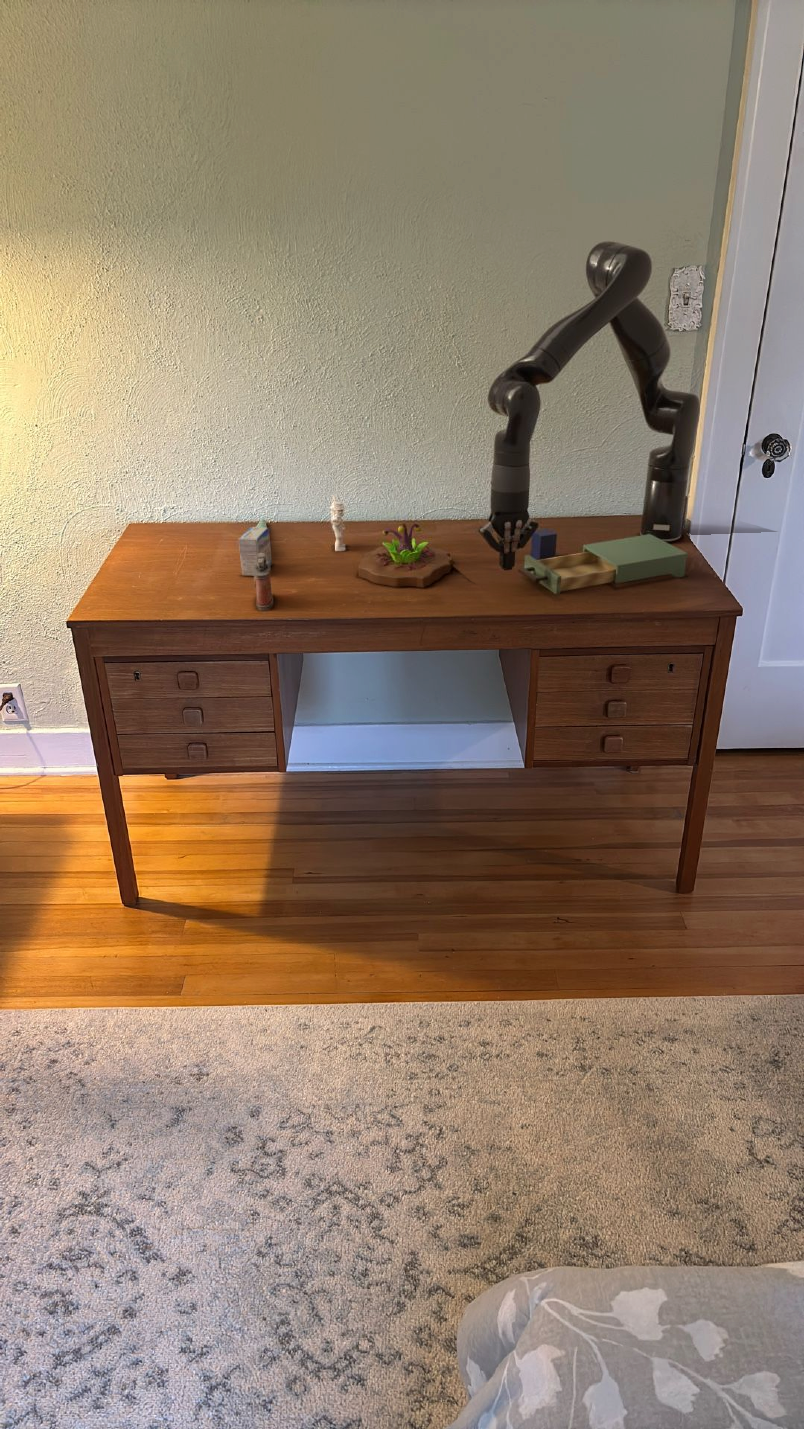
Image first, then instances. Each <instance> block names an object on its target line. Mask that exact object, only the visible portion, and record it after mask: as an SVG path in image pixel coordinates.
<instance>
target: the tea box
mask: <svg viewBox="0 0 804 1429" xmlns="http://www.w3.org/2000/svg"><path fill="white" fill-rule="evenodd" d="M557 540H558V533H557V532H555V531H553V530H552V529H550V528H542V529H536V531H535V532H534V534H533V535H532V536H531V544H530V556H531V557H533V558H534V559H536V560H541V559H547V558H553V557H557V555H556V554H557Z"/></svg>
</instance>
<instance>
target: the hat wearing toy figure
mask: <svg viewBox="0 0 804 1429" xmlns="http://www.w3.org/2000/svg"><path fill="white" fill-rule="evenodd" d="M336 500H337V499H336V497H335V496H334V495H332V499H331V505H330V506H329V510H330V515H331V517H330V519H331V521H330V524H331V530H332V531H333V532H334V535H335V543H334V551H335V552H346V549H347V548H346V543H344V537H343V535H344V534H343V533H344V531H343V530H345V529H346V524H344V516H345V511H346V509H347V506H345V505H344V503H342V502H340V501H336Z"/></svg>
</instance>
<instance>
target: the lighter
mask: <svg viewBox="0 0 804 1429" xmlns="http://www.w3.org/2000/svg"><path fill="white" fill-rule="evenodd" d="M253 571H254V576H253V579H254V580H253V582H254V588H255V592H256V598H255V600H256V607H257V609H258V610H259V611H268V610H271V608H272V607H273V605H274V596H273V592H272V584H271V565H270V564H269V562H267V560H266V559H265V555H264V553H259V554H258V555H257V563H256V564H255V565H254V568H253Z"/></svg>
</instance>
